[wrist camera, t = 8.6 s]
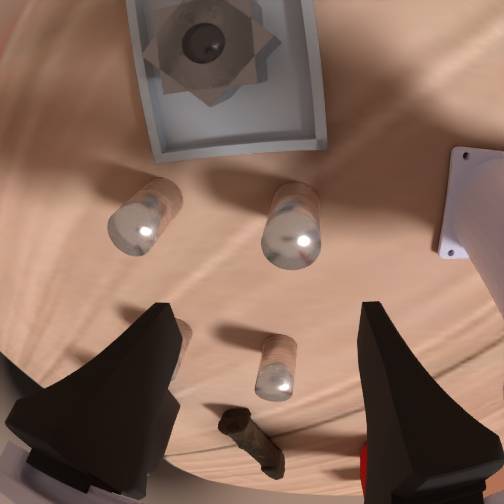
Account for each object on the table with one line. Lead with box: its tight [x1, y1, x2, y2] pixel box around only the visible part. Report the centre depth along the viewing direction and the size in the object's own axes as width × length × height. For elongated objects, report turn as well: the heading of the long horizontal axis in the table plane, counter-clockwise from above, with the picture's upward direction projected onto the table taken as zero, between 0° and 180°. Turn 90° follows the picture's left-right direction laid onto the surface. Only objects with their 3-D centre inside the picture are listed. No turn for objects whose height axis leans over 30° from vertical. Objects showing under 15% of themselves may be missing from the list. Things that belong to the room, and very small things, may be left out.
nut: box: [141, 0, 282, 107], centre depth 13 cm, size 6×6×4 cm
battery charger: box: [147, 390, 180, 475], centre depth 32 cm, size 7×4×11 cm, turn 18°
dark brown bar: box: [218, 409, 285, 480], centre depth 38 cm, size 19×4×5 cm, turn 21°
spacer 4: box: [255, 335, 297, 402], centre depth 26 cm, size 3×3×5 cm
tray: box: [125, 0, 328, 164], centre depth 15 cm, size 10×13×2 cm
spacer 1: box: [108, 178, 183, 256], centre depth 19 cm, size 3×3×5 cm
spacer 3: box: [261, 182, 321, 270], centre depth 18 cm, size 3×3×5 cm
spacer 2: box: [171, 318, 193, 381], centre depth 27 cm, size 3×3×5 cm
